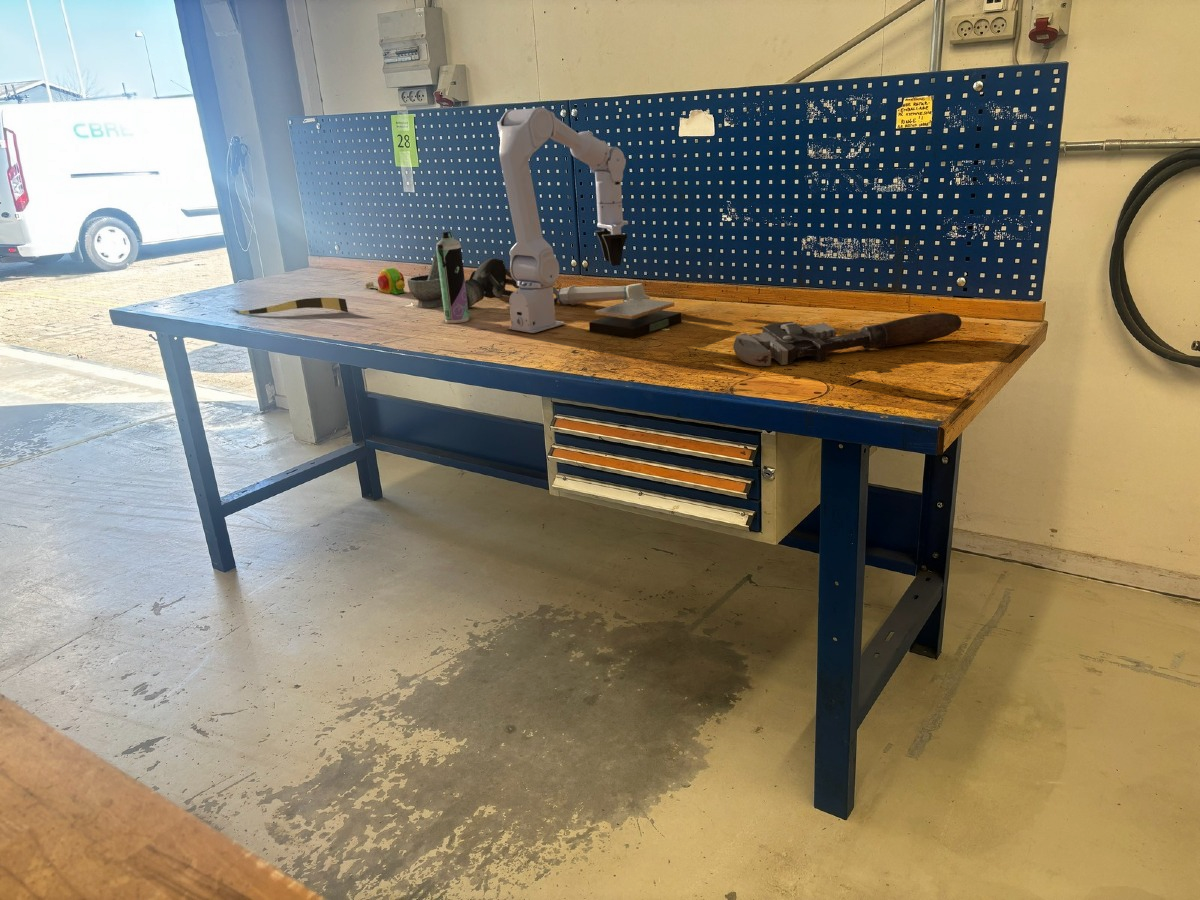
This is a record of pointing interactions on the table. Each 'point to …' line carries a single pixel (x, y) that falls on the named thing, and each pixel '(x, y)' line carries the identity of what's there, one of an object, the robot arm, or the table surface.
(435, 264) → the mortar and pestle
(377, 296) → the table surface
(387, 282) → the toy measuring tape
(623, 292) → the pale grey handled tool
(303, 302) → the tape
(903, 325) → the pipe wrench
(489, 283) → the respirator mask
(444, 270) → the spray can
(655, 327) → the scale
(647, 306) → the pan
